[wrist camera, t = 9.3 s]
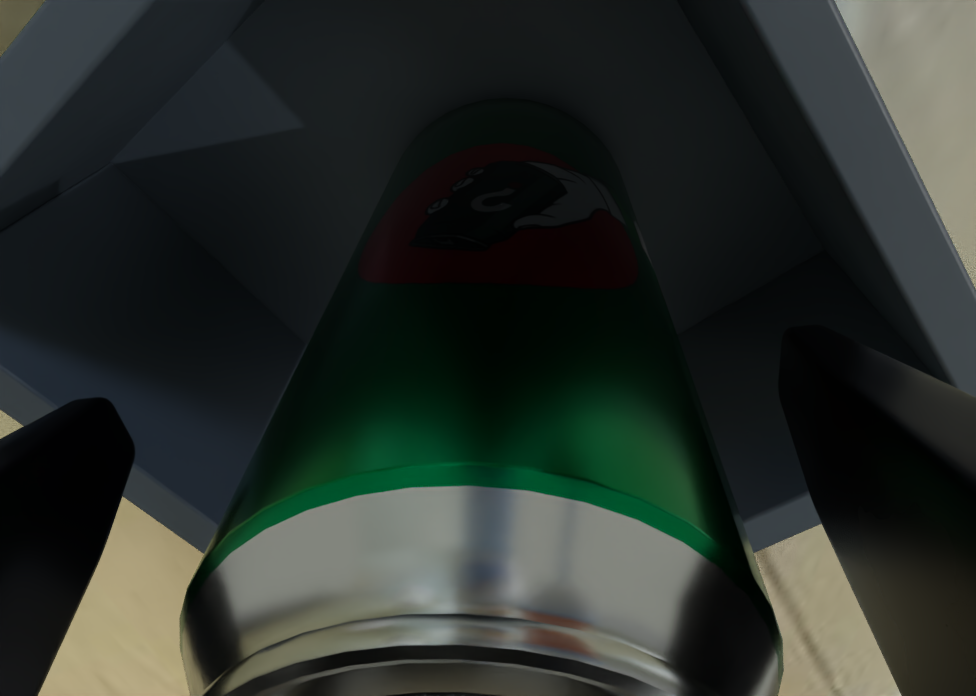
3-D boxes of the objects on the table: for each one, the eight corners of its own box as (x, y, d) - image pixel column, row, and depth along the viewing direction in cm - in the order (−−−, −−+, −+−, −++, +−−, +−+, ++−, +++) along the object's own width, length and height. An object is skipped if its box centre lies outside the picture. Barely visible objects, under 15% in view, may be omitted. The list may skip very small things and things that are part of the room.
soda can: (343, 185, 15) (-37, 770, 5) (537, 35, 13) (573, 464, 3) (483, 348, 17) (420, 995, 7) (667, 237, 15) (943, 889, 5)
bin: (864, 246, 16) (1045, 428, 10) (442, 487, 20) (411, 702, 15) (529, -354, 11) (533, -620, 5) (71, 147, 15) (-182, 283, 10)
